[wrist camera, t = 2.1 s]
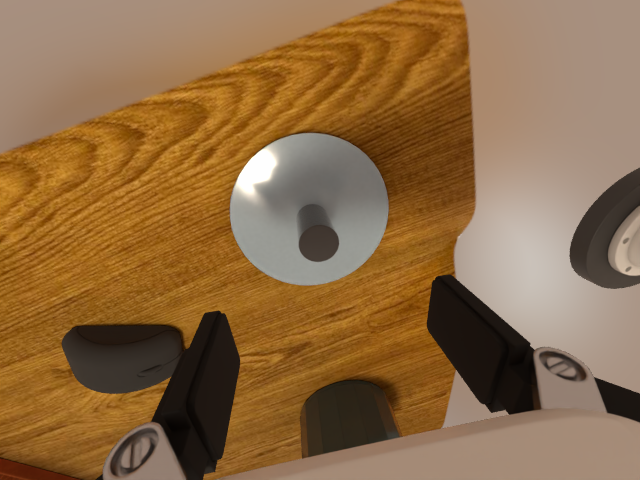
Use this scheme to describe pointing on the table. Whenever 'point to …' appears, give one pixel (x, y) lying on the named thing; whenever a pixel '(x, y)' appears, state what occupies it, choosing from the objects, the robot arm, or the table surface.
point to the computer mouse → (122, 356)
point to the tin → (346, 418)
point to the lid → (309, 209)
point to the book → (27, 472)
